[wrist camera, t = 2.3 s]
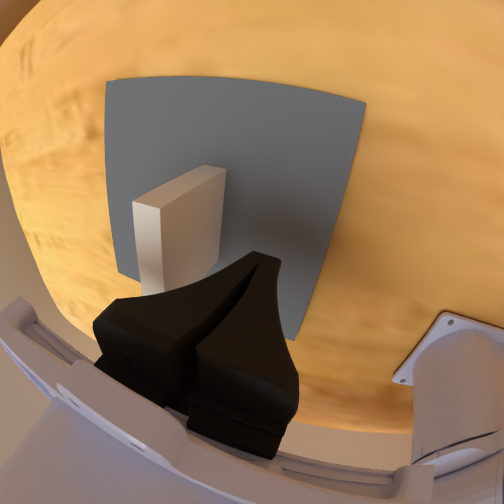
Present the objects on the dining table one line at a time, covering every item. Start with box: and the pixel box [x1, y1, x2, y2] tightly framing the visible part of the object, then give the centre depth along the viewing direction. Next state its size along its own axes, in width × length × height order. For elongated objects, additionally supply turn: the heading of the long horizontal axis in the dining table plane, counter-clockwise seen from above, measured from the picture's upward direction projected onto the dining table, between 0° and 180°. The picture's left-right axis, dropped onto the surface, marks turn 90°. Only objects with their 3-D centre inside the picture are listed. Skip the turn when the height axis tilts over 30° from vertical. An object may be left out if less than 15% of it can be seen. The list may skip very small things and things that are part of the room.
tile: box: [132, 165, 227, 296], centre depth 14 cm, size 2×6×6 cm, turn 171°
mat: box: [105, 77, 366, 341], centre depth 17 cm, size 16×16×1 cm
